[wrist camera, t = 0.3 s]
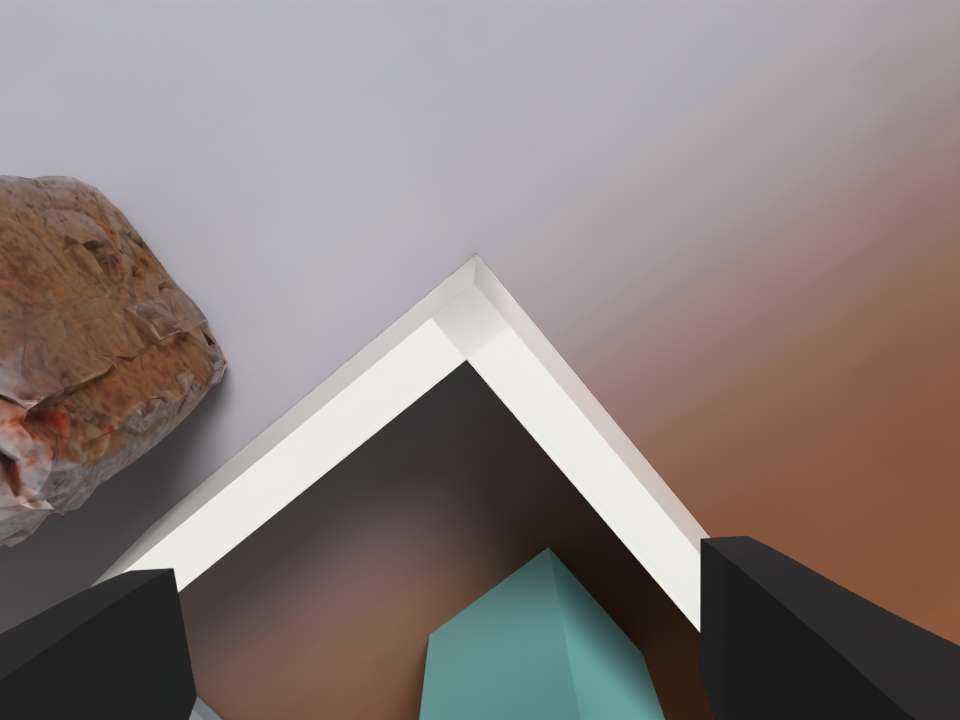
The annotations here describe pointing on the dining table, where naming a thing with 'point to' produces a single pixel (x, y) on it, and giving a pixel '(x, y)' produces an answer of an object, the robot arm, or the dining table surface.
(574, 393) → the open folding screen
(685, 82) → the dining table surface
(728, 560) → the robot arm
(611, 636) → the teal block
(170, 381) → the food item
